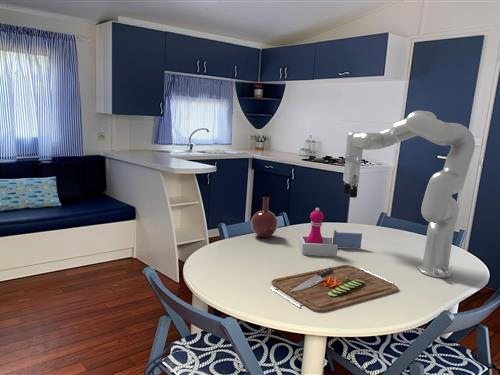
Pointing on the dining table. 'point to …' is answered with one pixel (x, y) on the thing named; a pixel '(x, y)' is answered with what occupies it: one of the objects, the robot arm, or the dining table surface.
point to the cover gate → (347, 239)
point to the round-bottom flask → (264, 221)
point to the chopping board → (333, 287)
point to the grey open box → (318, 247)
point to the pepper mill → (316, 227)
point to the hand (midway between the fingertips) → (349, 195)
